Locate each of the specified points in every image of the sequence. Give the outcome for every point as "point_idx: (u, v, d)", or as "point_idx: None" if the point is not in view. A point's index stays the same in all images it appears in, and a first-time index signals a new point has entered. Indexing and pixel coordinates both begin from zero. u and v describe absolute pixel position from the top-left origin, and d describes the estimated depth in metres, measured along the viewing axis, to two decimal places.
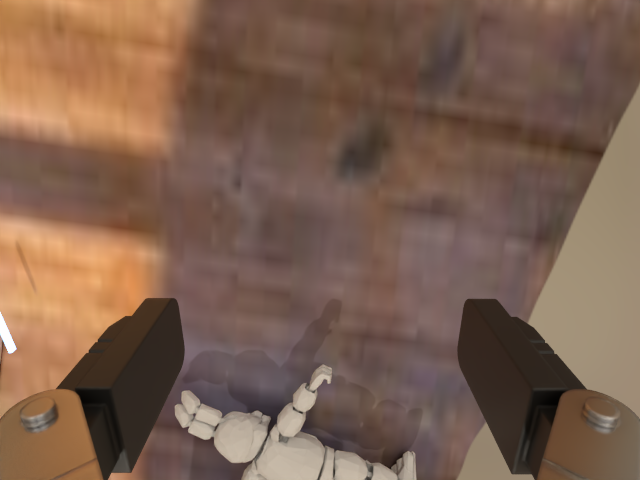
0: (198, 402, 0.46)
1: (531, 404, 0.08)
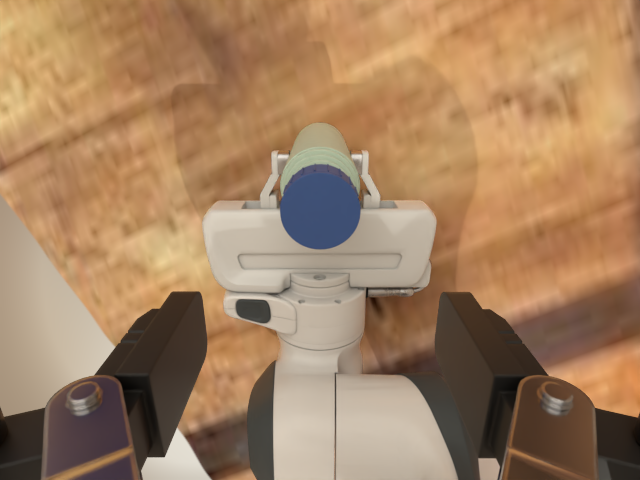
0: None
1: (494, 390, 0.08)
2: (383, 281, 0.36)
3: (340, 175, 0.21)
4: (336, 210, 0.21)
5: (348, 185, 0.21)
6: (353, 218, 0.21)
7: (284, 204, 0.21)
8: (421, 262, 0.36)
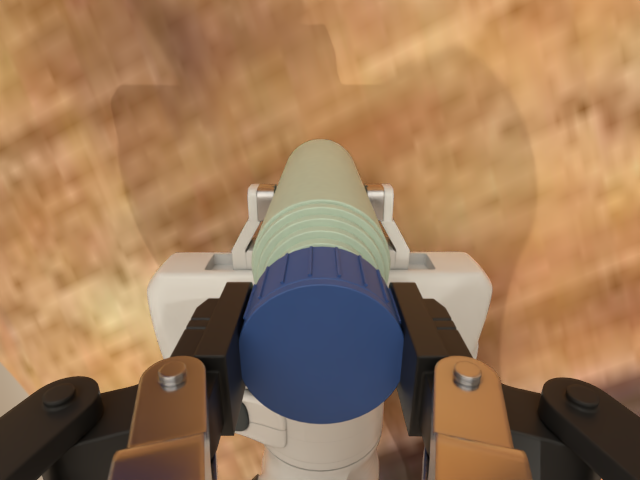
0: None
1: (419, 371, 0.09)
2: None
3: (364, 284, 0.10)
4: (356, 355, 0.10)
5: (382, 309, 0.09)
6: (391, 370, 0.10)
7: (245, 345, 0.10)
8: (467, 345, 0.25)
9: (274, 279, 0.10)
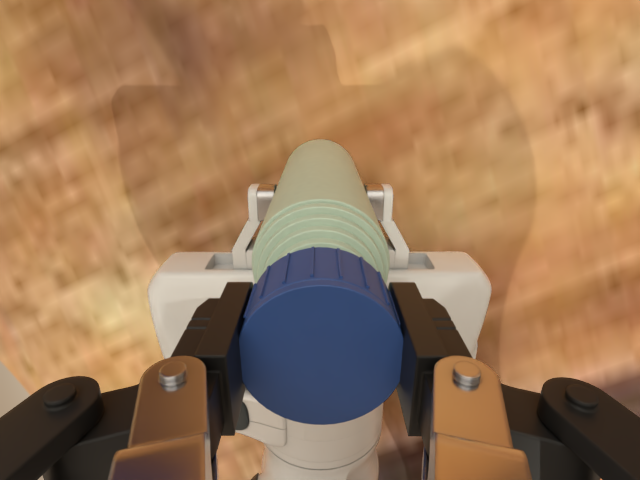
0: None
1: (418, 370, 0.09)
2: None
3: (244, 317, 0.10)
4: (313, 332, 0.10)
5: (256, 313, 0.10)
6: (331, 298, 0.09)
7: (308, 418, 0.11)
8: (467, 344, 0.25)
9: None
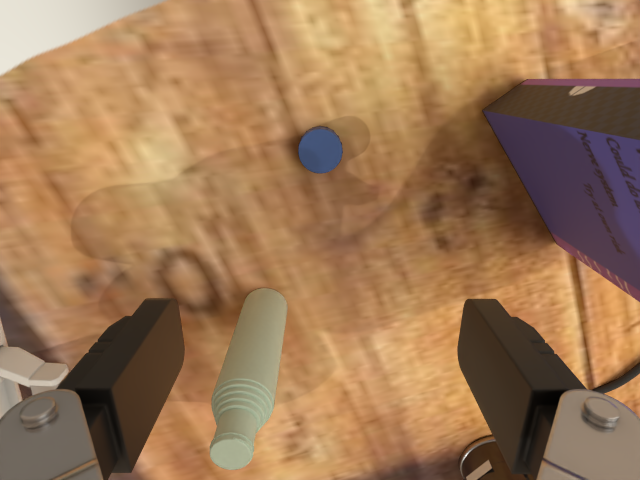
0: None
1: (531, 404, 0.08)
2: None
3: (326, 129, 0.38)
4: (328, 148, 0.39)
5: (331, 133, 0.38)
6: (339, 151, 0.39)
7: (300, 151, 0.39)
8: None
9: (304, 135, 0.39)
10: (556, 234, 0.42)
